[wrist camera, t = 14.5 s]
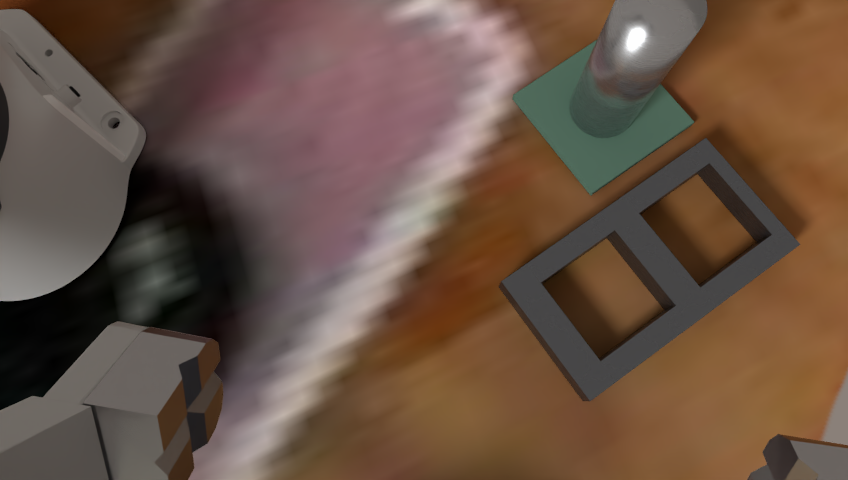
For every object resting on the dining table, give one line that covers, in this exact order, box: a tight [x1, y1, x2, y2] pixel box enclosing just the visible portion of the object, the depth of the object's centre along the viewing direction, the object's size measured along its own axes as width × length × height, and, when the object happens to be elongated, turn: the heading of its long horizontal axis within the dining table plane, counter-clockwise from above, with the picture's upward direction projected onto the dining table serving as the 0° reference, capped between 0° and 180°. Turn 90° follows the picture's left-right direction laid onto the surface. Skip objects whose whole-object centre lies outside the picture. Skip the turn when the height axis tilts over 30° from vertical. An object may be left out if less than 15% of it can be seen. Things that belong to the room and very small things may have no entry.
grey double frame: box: [499, 138, 800, 401], centre depth 41 cm, size 9×17×2 cm, turn 125°
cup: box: [569, 0, 707, 138], centre depth 38 cm, size 5×5×12 cm
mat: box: [513, 39, 694, 195], centre depth 45 cm, size 9×9×1 cm
